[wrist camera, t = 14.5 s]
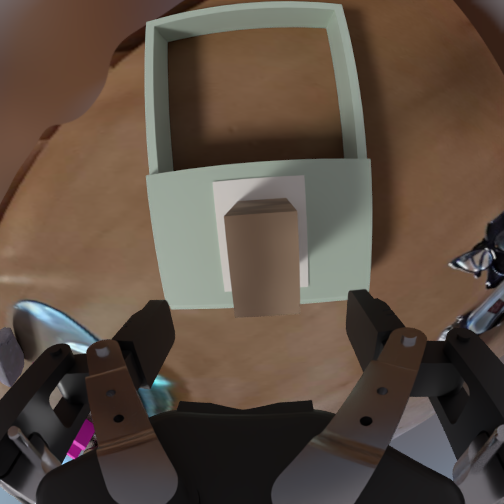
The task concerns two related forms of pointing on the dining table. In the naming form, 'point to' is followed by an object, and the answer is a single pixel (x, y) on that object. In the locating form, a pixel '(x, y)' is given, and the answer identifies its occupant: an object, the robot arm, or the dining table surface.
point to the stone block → (10, 357)
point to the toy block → (81, 439)
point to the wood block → (263, 257)
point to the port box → (258, 173)
